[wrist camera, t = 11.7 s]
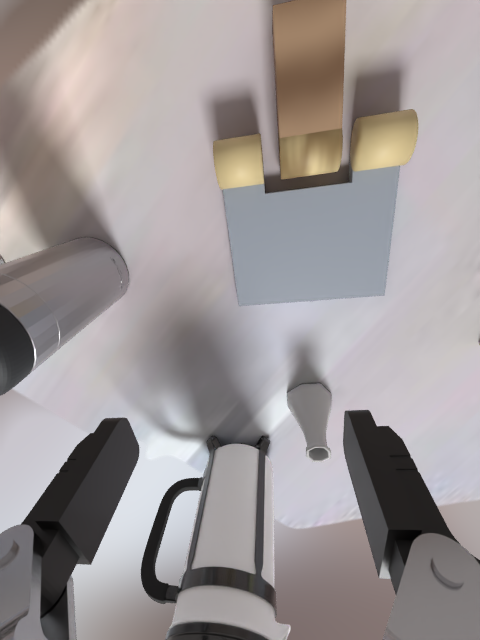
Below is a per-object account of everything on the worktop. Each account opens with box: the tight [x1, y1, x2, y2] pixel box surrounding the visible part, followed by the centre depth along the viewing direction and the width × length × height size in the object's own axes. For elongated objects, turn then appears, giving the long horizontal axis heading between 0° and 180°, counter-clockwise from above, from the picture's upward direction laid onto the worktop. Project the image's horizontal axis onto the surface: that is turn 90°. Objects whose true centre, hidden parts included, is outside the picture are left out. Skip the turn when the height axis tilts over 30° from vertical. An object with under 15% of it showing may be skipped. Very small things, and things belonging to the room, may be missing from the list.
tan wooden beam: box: [272, 0, 346, 180], centre depth 26 cm, size 12×6×4 cm, turn 7°
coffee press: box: [141, 436, 291, 640], centre depth 40 cm, size 17×16×30 cm
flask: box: [287, 383, 332, 462], centre depth 40 cm, size 7×7×10 cm
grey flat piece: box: [213, 109, 418, 306], centre depth 31 cm, size 18×18×4 cm
